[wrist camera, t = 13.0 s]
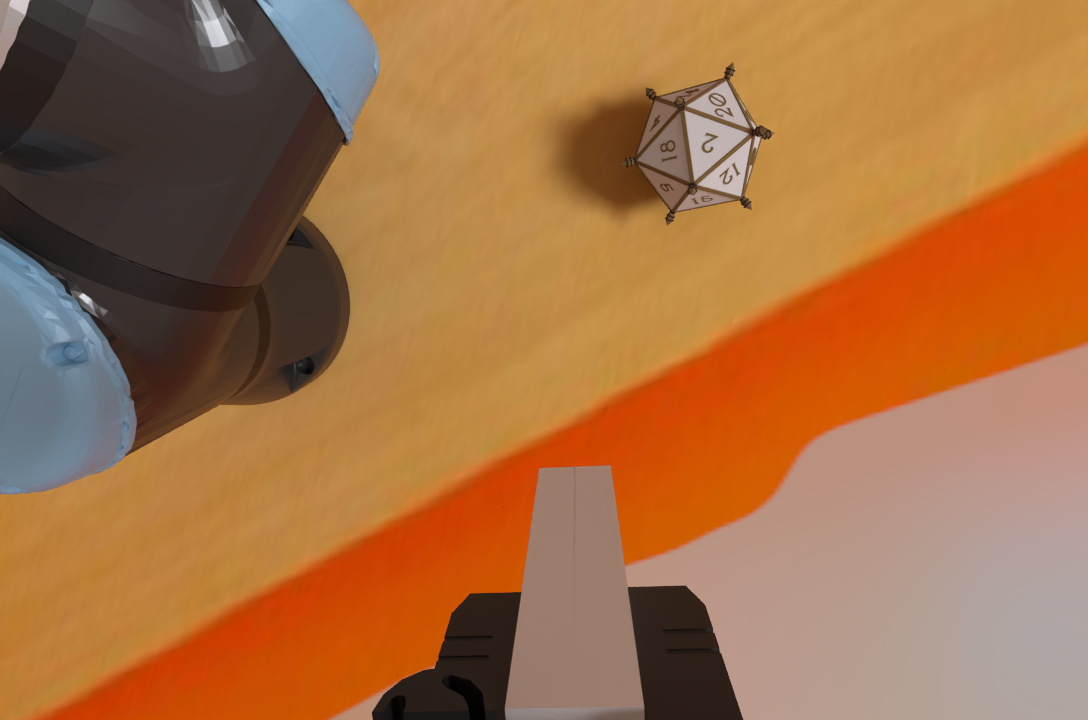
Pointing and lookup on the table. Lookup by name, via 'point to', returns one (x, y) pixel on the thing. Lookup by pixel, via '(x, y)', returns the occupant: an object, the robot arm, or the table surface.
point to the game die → (699, 146)
